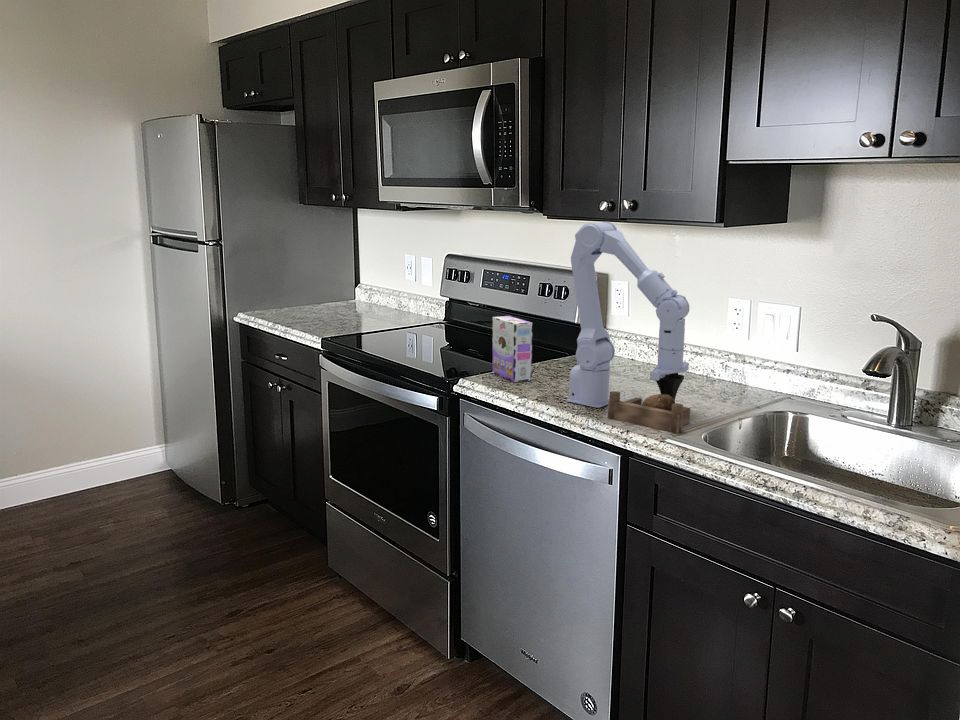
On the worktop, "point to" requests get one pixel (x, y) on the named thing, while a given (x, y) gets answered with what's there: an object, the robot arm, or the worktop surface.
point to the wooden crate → (647, 414)
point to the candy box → (512, 348)
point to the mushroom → (659, 401)
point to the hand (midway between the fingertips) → (667, 405)
